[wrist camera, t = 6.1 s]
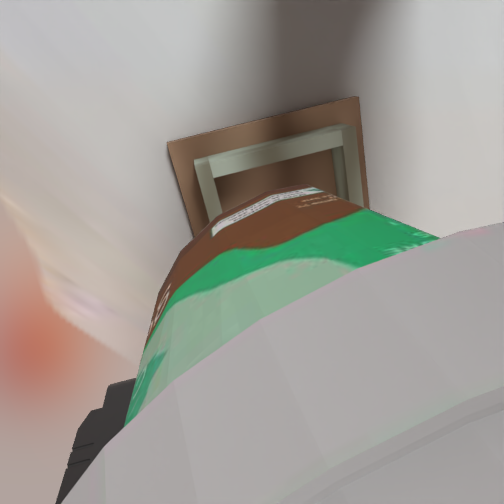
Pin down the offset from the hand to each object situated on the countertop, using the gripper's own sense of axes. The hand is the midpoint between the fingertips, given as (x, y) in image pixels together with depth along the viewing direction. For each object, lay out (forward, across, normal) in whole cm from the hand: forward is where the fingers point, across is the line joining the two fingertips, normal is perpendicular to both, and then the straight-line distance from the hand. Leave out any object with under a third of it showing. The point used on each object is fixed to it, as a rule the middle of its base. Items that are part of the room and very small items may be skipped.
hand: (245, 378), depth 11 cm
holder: (+22, -5, +6) cm, 23 cm away
